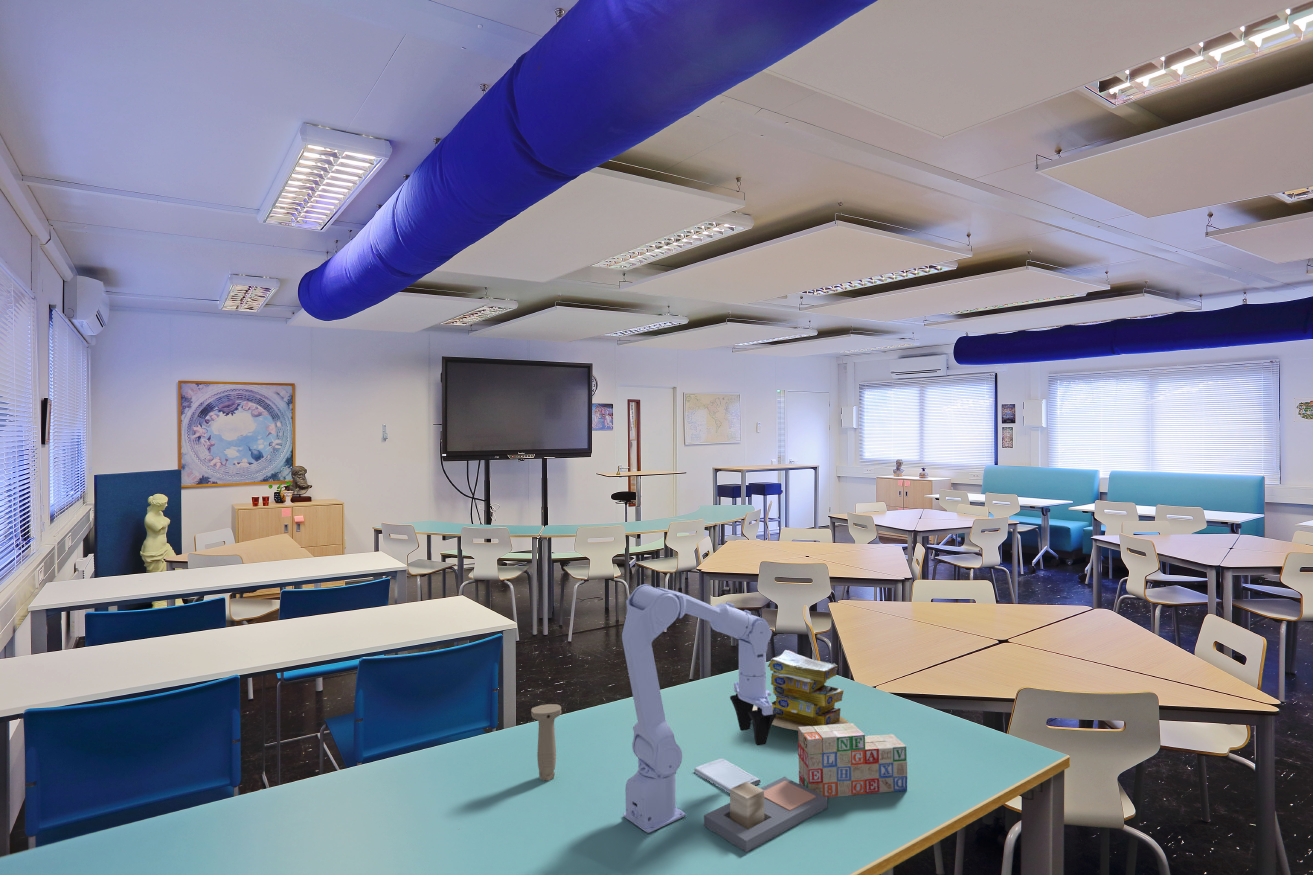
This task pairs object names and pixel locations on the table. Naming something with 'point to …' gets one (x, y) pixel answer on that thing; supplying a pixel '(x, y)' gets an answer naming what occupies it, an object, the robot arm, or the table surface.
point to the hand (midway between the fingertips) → (752, 736)
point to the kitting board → (769, 814)
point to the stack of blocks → (850, 761)
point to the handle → (546, 739)
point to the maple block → (747, 805)
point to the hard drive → (725, 774)
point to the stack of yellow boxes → (803, 692)
